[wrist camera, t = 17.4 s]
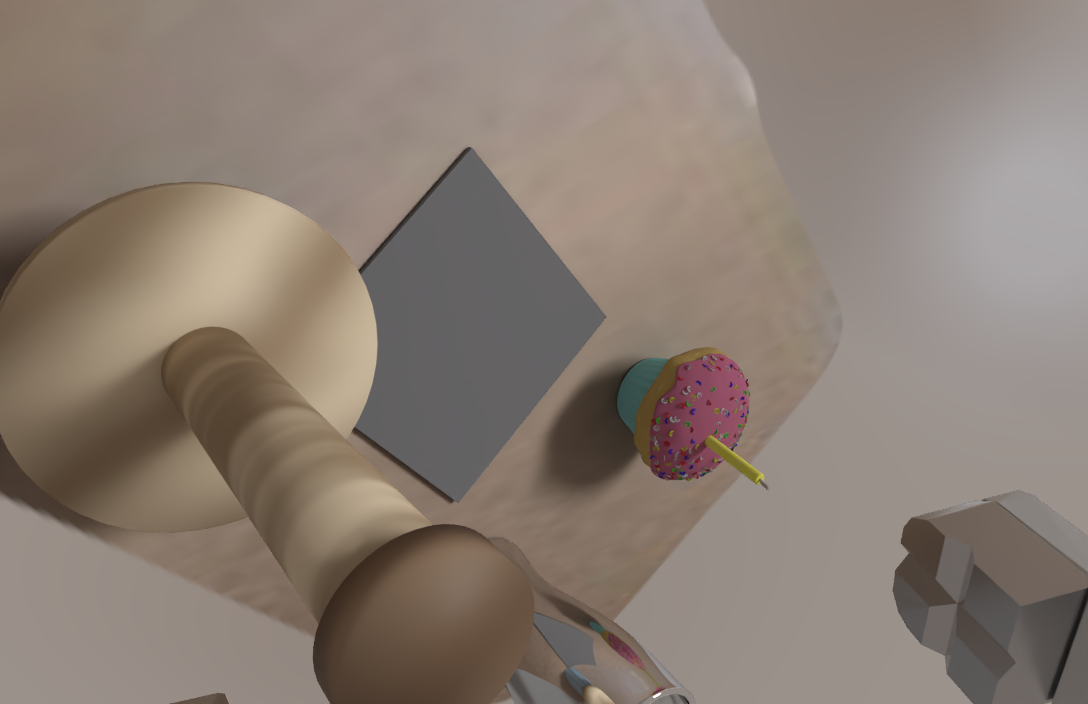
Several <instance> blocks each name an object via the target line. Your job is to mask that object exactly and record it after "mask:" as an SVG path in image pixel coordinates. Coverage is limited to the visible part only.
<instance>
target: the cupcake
mask: <svg viewBox="0 0 1088 704" xmlns="http://www.w3.org/2000/svg"><path fill="white" fill-rule="evenodd" d="M747 381H748V379H747V380H746V381H745V378H744V375H743V373H742V371H741V369H740V368H739V366H738V365H737V364H736V363H735V362H734V361H733V360H731V359H730V358H729V357H728V356H727V355H726V354H724V353H723V352H722V351H720V350H718V349H715V348H709V347H707V348H697V349H694V350H691V351H688V352H685V353H683V354H680V355H677V356H675V357H672V358H670V359H661V358H648V359H645V360H643V361H641V362H639V363H637V364H636V365H635V366H634V367H633V368H632V369H631V370H630V371H629V372H628V373H627V375H626V376H625V378H624V379H623V381H622V383H621V386H620V388H619V392H618V397H617V408H618V413H619V415H620V417H621V419H622V420H623V421H624V422H625V424H626V425H627V426H628V427H629V428H630V430H631V431H632V432H633V434H634V443H635V445H636V447H637V449H638V451H639V452H640V454H641V458H642V460H643V462H644V463H645V464H646V465H647V466H649V467H650V468H651V471H652V472H653V473H654V474H655V475H656V476H657V477H659V478H662V479H665V480H667V481H669V480H683V479H686V480H688V479H689V478H690V479H689V480H688V481H690V480H692V478H696V479H698V478H699V477H698V476H704V475H705V474H706V473H709V472H712V471H713V469H714V468H716V467H717V466H718V465H719V464H720V463H722V462H723V461H724V460H726V461H727V462H728V463H730V464H731V465H732V466H733V467H735V468H736V469H737V470H739V471H740V472H741V473H742V474H744V475H745V476H746V477H748V478H749V479H750V480H751V481H753V482H754V483H755V484H761V485H762V486H764V487H765V488H766V490H769V486H768V485H767V484H766V483H765V482H764V481H763V480H764V475H763V474H762V473H760V472H759V471H757V470H756V469H755V468H754V467H752V466H751V465H750V464H749V463H747V462H746V461H745V460H743V459H742V458H741V457H739V456H738V455H737V454H735V453H734V452H733V449H734V447H735V446H737V444H736V442H738V441H739V438H740V437H741V435H742V431H743V429H744V426H745V424H746V422H747V417H748V414H749V411H748V410H749V396H750V393H749V390H748V386H749V385H748V383H747Z"/></svg>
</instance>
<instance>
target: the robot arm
mask: <svg viewBox="0 0 1088 704" xmlns="http://www.w3.org/2000/svg"><path fill="white" fill-rule="evenodd" d="M901 544H902V545H903V547H904V548H905V549H906V550H907V552H908V553H909V554H908V555H907V556H906V558H905V559H904V560H903V561H902V563H901V564H900V565H899V566H898V567H897V569H896V570H895V577H894V586H893V593H894V597H895V600H896V605H897V608H898V612H899V614H900V615H901V617H902V619H903V621H904V623H905V624H906V626H907V628H908V629H909V630H910V632H911V633H912V634H913V635H914V636H915V637H916V639H917V640H918V641H919V642H920V643H921V644H922V645H924V646H926V647H928V648H930V649H932V650H934V651H936V652H938V653H940V654H943V655H945V660H946V671H947V674H948V676H949V677H950V678H951V679H952V680H953V681H954V683H955V684H956V685H957V686H958V687H959V688H960V689H961V690H962V692H963V693H964V694H965V695H966V696H967V697H968V698H969V700H970V701H971V702H972V703H973V704H1045V703H1049V702H1052V704H1088V535H1086V534H1085V533H1084V532H1082V531H1081V530H1080V529H1078V528H1077V527H1076V526H1074V525H1073V524H1072V523H1071V522H1069V521H1068V520H1067V519H1065V518H1064V517H1063V516H1061V515H1060V514H1059V513H1057V512H1056V511H1055V510H1053V509H1052V508H1051V507H1049V506H1048V505H1047V504H1045V503H1044V502H1043V501H1041V500H1040V499H1039V498H1037V497H1036V496H1034V495H1032V494H1030V493H1027V492H1024V491H1021V490H1017V491H1013V492H1009V493H1005V494H1001V495H997V496H993V497H990V498H986V499H983V500H981V501H973V502H969V503H965V504H962V505H958V506H954V507H950V508H947V509H943V510H939V511H935V512H931V513H927V514H924V515H920V516H916V517H913V518H911V519H910V520H909V521H908V523H907V524H906V525H905V526H904V529H903V534H902V538H901ZM171 704H229V703H228V701H227V698H226V696H225V694H223V693H216V694H211V695H207V696H202V697H198V698H194V699H190V700H185V701H180V702H176V703H171Z"/></svg>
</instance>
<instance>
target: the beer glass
mask: <svg viewBox="0 0 1088 704" xmlns="http://www.w3.org/2000/svg"><path fill="white" fill-rule="evenodd" d="M488 540H489V541H490V542H491V543H492V544H493V545H494V546H495V547H496V548H498V549H499V550H500V551H501V552H502V553H503V554H504V555H505V556H506V557H507V558H508V559H510V560H511V561H512V562H513V563H514V564H515V565H516V566H517V567H518V568H519V569H520V570H521V571H522V572H523V573H524V575H525V576H526V577H527V579H528V581H529V583H530V585H531V589H532V592H533V597H534V605H535V610H534V622H533V628H532V632H531V636H530V640H529V643H528V645H527V648H526V651H525V653H524V655H523V657H522V659H521V661H520V663H519V665H518V667H517V668H516V670H515V672H514V674H513V675H512V677H511V678H510V680H509V681H508V682H507V684H506V685H505V687H506V689H507V691H508V693H509V694H510V696H511V698H512V699H513V701H514V703H515V704H696V702H695V699H694V697H693V695H692V694H691V693H690V692H689V691H688V690H687V689H685V688H684V687H683V686H682V685H681V684H680V683H679V682H678V680H677V679H676V678H675V677H674V676H673V675H672V674H671V673H670V672H669V671H668V670H667V669H666V668H665V667H664V666H663V665H662V664H661V663H660V662H659V661H658V660H657V659H656V658H655V657H654V656H653V655H652V654H651V653H650V652H649V651H648V650H647V649H646V648H645V647H644V646H643V645H642V644H640V642H638V641H637V640H636V639H635V638H634V637H633V636H631V635H630V634H629V633H628V632H627V631H625V630H624V629H623V628H622V627H620V626H619V625H618V624H616V623H614V622H613V621H612V620H610V619H609V618H607V617H606V616H604V615H603V614H601V613H600V612H598V611H596V610H595V609H593V608H591V607H589V606H588V605H586V604H584V603H582V602H581V601H579V600H577V599H575V598H573V597H572V596H570V595H568V594H566V593H564V592H563V591H561V590H559V589H558V588H556V587H554V586H552V585H551V584H550V583H548V582H547V581H546V580H544V579H543V578H542V577H541V576H540V575H539V574H538V573H537V571H536V570H535V569H534V568H533V566H532V565H531V563H530V562H529V561H528V559H527V558H526V556H525V555H524V553H523V552H522V551H521V549H520V548H519V547H518V546H517V545H516V544H514V543H513V542H511V541H509V540H506V539H502V538H493V539H488Z"/></svg>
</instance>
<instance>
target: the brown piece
mask: <svg viewBox="0 0 1088 704" xmlns="http://www.w3.org/2000/svg"><path fill="white" fill-rule="evenodd" d="M377 345H378V343H377V327H376V320H375V315H374V310H373V305H372V302H371V299H370V296H369V293H368V291H367V288H366V285H365V283H364V281H363V279H362V277H361V275H360V273H359V271H358V269H357V267H356V266H355V265H354V263H353V262H352V260H351V259H350V257H349V256H348V255H347V253H346V252H345V250H344V249H343V248H342V247H341V246H340V245H339V244H338V243H337V242H336V241H335V240H334V238H333V237H332V236H331V235H330V234H329V233H327V232H326V231H325V230H324V229H322V228H321V227H320V226H319V225H318V224H316V223H315V222H314V221H313V220H311V219H309V218H308V217H306V216H305V215H303V214H301V213H300V212H298V211H296V210H295V209H293V208H291V207H289V206H287V205H285V204H283V203H281V202H279V201H277V200H274V199H272V198H270V197H268V196H265V195H263V194H260V193H257V192H254V191H250V190H247V189H244V188H240V187H236V186H230V185H224V184H218V183H205V182H179V183H167V184H159V185H154V186H149V187H144V188H139V189H135V190H132V191H129V192H126V193H123V194H120V195H117V196H114V197H111V198H108V199H106V200H104V201H102V202H100V203H98V204H96V205H94V206H92V207H90V208H88V209H86V210H84V211H82V212H80V213H79V214H77V215H76V216H74V217H73V218H71V219H70V220H68V221H67V222H65V223H64V224H62V225H61V226H59V227H58V228H57V229H56V230H55V231H54V232H52V233H51V234H50V235H49V236H48V237H47V238H46V239H45V240H43V241H42V242H41V243H40V244H39V245H38V246H37V247H36V248H35V249H34V250H33V252H32V253H31V254H30V255H29V256H28V257H27V259H26V260H25V261H24V262H23V263H22V265H21V266H20V267H19V268H18V270H17V272H16V273H15V275H14V276H13V278H12V280H11V281H10V283H9V284H8V286H7V288H6V289H5V291H4V293H3V296H2V298H1V300H0V434H1V436H2V438H3V440H4V443H5V445H6V447H7V449H8V451H9V452H10V453H11V455H12V456H13V458H14V459H15V461H16V462H17V464H18V465H19V466H20V468H21V469H22V470H23V472H24V473H25V474H26V475H27V476H28V477H29V478H30V479H31V480H32V481H33V482H34V483H35V484H36V485H37V486H38V487H39V488H40V489H42V490H43V491H44V492H45V493H47V494H48V495H49V496H51V497H52V498H53V499H55V500H56V501H57V502H59V503H60V504H62V505H64V506H66V507H68V508H69V509H71V510H73V511H75V512H76V513H78V514H80V515H83V516H85V517H88V518H90V519H93V520H95V521H98V522H101V523H104V524H107V525H111V526H115V527H119V528H123V529H128V530H136V531H144V532H168V533H175V532H186V531H196V530H202V529H207V528H212V527H216V526H221V525H225V524H228V523H231V522H234V521H237V520H240V519H244V518H246V517H249V518H250V520H251V521H252V523H253V524H254V526H255V528H256V529H257V531H258V532H259V534H260V535H261V537H262V538H263V540H264V541H265V543H266V544H267V546H268V547H269V549H270V550H271V552H272V553H273V555H274V557H275V558H276V560H277V561H278V563H279V564H280V566H281V567H282V569H283V570H284V572H285V573H286V575H287V576H288V578H289V579H290V581H291V582H292V584H293V586H294V587H295V589H296V590H297V592H298V593H299V595H300V596H301V598H302V599H303V601H304V602H305V604H306V605H307V607H308V608H309V610H310V611H311V613H312V615H313V616H314V618H315V619H316V621H317V622H318V624H319V625H318V628H317V631H316V635H315V641H314V646H313V664H314V671H315V674H316V678H317V681H318V683H319V685H320V686H321V688H322V690H323V692H324V693H325V695H326V697H327V699H328V700H329V702H330V704H490V703H491V702H492V701H493V700H494V699H495V698H496V697H497V695H498V694H499V693H500V692H501V690H502V689H503V688H504V687H505V685H506V684H507V682H508V681H509V680H510V678H511V677H512V675H513V674H514V672H515V670H516V668H517V667H518V665H519V663H520V661H521V659H522V657H523V655H524V653H525V651H526V648H527V645H528V643H529V640H530V636H531V632H532V628H533V622H534V610H535V605H534V597H533V592H532V589H531V585H530V583H529V581H528V579H527V577H526V576H525V575H524V573H523V572H522V571H521V570H520V569H519V568H518V567H517V566H516V565H515V564H514V563H513V562H512V561H511V560H510V559H508V558H507V557H506V556H505V555H504V554H503V553H502V552H501V551H500V550H499V549H498V548H496V547H495V546H494V545H493V544H492V543H491V542H490V541H489V540H488V539H487V538H485V537H484V536H483V535H482V534H480V533H478V532H477V531H475V530H473V529H470V528H467V527H465V526H459V525H451V524H441V525H432V524H431V523H430V522H429V521H428V520H427V519H426V518H425V517H424V516H423V515H422V514H421V513H420V512H419V511H418V510H417V509H416V508H415V507H414V506H413V505H412V504H411V503H410V502H409V501H408V500H407V499H406V498H405V497H404V496H403V495H402V494H401V493H400V492H399V491H398V490H397V489H396V488H395V487H394V486H393V485H392V484H391V483H390V482H389V481H388V480H387V479H386V478H385V477H384V476H382V475H381V474H380V473H379V472H378V471H377V470H376V469H375V468H374V467H373V466H372V465H371V464H370V463H369V462H368V461H367V460H366V459H365V458H364V457H363V456H362V455H361V454H360V453H359V452H358V451H357V450H356V449H355V448H354V447H353V446H352V445H351V444H350V443H349V442H348V441H347V438H348V437H349V435H350V433H351V432H352V430H353V428H354V427H355V425H356V423H357V422H358V420H359V417H360V415H361V413H362V411H363V409H364V406H365V404H366V402H367V399H368V396H369V393H370V389H371V386H372V383H373V378H374V373H375V368H376V360H377Z"/></svg>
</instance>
